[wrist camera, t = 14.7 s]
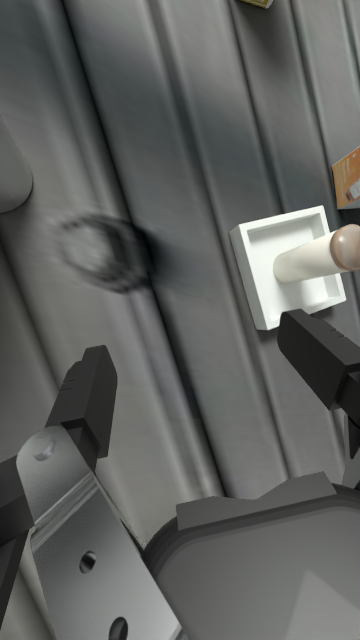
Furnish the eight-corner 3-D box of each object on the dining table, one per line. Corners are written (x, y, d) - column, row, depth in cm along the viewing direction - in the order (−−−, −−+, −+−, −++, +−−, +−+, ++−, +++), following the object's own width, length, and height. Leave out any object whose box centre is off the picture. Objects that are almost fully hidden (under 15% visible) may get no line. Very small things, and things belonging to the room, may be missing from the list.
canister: (268, 256, 36) (331, 229, 25) (295, 248, 37) (365, 220, 27) (277, 288, 36) (342, 275, 26) (303, 280, 38) (375, 264, 27)
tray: (228, 232, 35) (238, 224, 32) (307, 213, 39) (322, 205, 36) (256, 329, 36) (267, 330, 33) (329, 301, 40) (346, 300, 37)
